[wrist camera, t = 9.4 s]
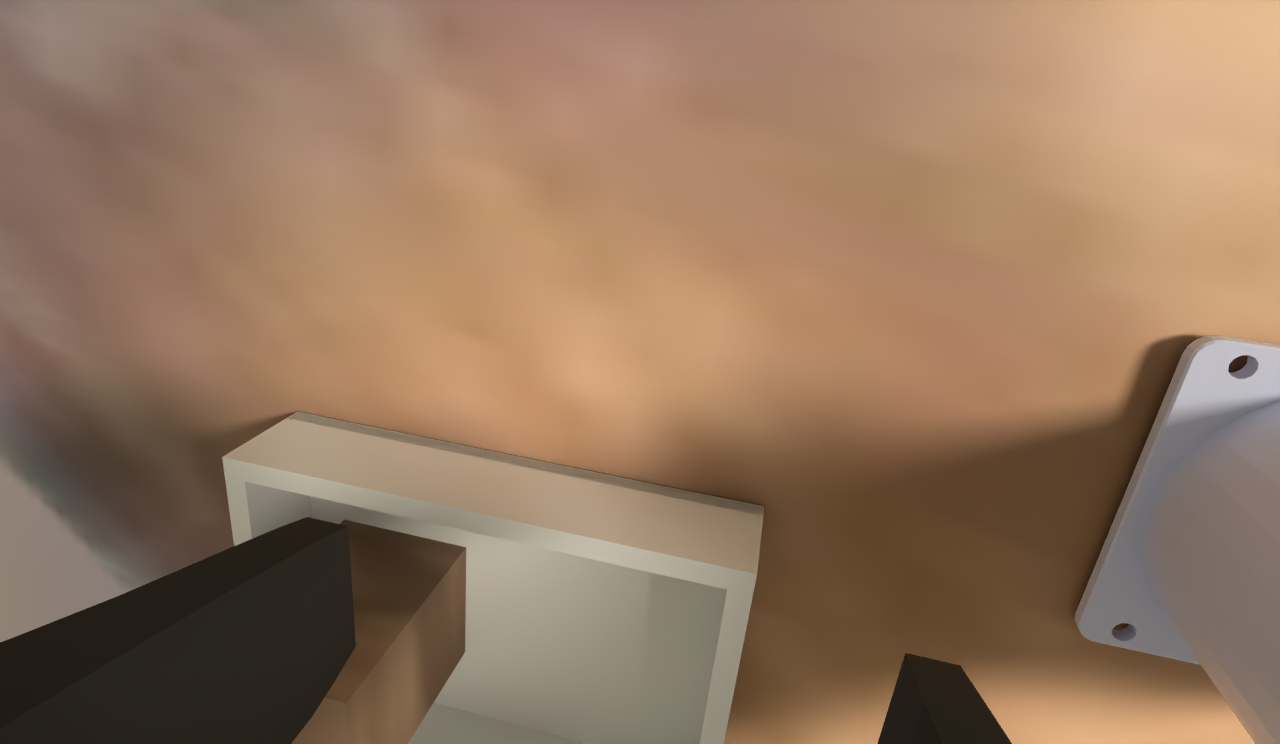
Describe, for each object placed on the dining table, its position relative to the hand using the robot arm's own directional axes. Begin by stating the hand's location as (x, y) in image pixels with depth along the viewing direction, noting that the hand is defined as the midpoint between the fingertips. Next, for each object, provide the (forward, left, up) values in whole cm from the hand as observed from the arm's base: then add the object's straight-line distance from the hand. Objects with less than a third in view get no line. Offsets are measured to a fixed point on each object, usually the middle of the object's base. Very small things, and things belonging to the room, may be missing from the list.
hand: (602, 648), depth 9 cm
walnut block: (+8, +9, -9) cm, 15 cm away
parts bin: (+5, +9, -10) cm, 14 cm away
